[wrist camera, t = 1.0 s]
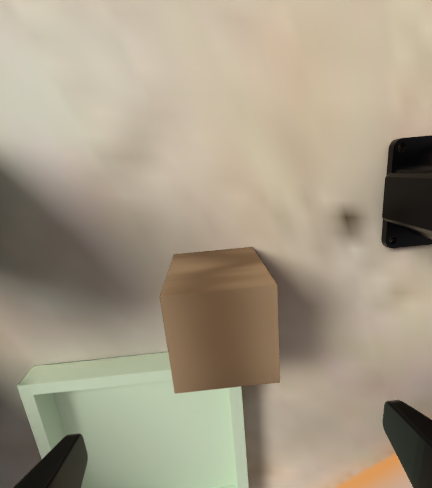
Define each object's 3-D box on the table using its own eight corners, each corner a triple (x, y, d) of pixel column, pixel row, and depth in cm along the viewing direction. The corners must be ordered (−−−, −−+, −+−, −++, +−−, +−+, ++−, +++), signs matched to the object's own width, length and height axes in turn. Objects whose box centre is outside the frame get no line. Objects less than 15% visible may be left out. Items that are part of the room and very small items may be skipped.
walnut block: (252, 246, 17) (277, 285, 12) (255, 316, 19) (279, 382, 13) (173, 254, 17) (159, 296, 11) (183, 324, 19) (174, 393, 13)
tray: (236, 344, 19) (239, 362, 17) (247, 488, 23) (250, 515, 21) (33, 366, 19) (16, 386, 17) (78, 509, 22) (68, 537, 21)
